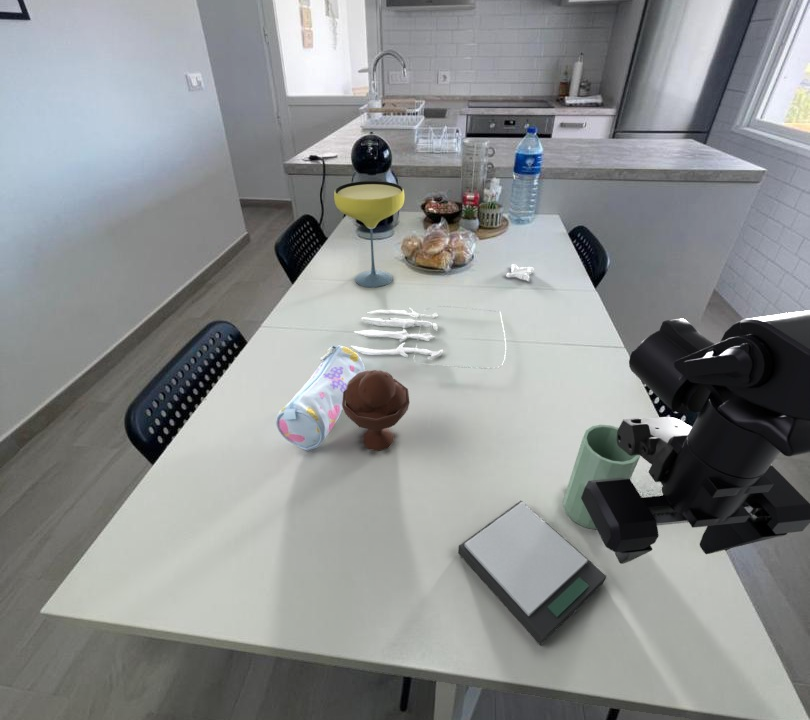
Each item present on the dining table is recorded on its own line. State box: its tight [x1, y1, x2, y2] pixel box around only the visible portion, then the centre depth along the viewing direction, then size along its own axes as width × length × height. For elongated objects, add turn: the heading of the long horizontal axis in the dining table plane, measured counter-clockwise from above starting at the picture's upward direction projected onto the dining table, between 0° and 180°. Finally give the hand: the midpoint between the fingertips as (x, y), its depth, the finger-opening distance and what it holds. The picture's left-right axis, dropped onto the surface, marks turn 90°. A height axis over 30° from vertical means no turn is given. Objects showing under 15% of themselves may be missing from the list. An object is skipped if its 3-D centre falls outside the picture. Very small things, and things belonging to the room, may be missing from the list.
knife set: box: [350, 305, 507, 370], centre depth 104 cm, size 26×35×1 cm
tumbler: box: [562, 424, 641, 530], centre depth 61 cm, size 7×7×14 cm
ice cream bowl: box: [342, 369, 410, 452], centre depth 73 cm, size 11×11×15 cm
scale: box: [457, 500, 608, 646], centre depth 57 cm, size 14×12×2 cm
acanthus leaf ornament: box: [505, 263, 535, 282], centre depth 130 cm, size 8×7×2 cm
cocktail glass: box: [333, 180, 405, 288], centre depth 122 cm, size 18×18×25 cm
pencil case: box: [275, 344, 366, 451], centre depth 80 cm, size 21×9×10 cm, turn 164°
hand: (661, 554), depth 46 cm, fingers open, 9 cm apart
